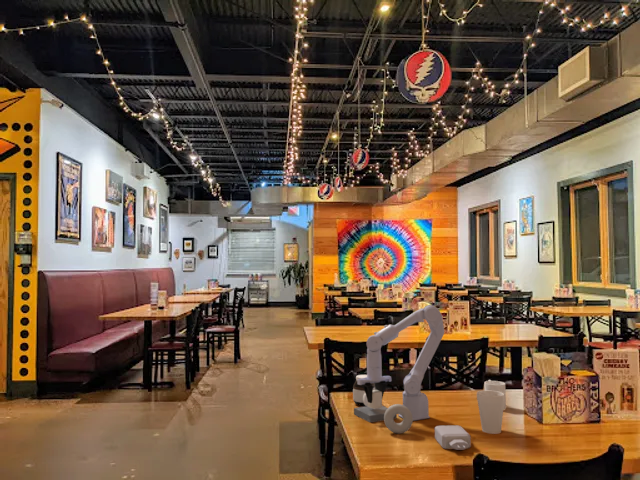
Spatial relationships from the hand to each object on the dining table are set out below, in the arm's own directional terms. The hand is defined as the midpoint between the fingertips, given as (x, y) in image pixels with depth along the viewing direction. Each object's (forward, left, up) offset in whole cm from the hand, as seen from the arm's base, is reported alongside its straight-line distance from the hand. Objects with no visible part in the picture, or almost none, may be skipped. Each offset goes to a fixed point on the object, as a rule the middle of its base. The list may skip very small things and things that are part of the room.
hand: (374, 401), depth 195 cm
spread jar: (-6, -16, -6) cm, 18 cm away
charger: (-5, +41, -6) cm, 42 cm away
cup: (-52, +10, -6) cm, 53 cm away
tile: (0, 0, -6) cm, 6 cm away
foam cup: (-27, +34, -6) cm, 44 cm away
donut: (+4, +21, -6) cm, 22 cm away
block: (0, 0, -2) cm, 2 cm away
